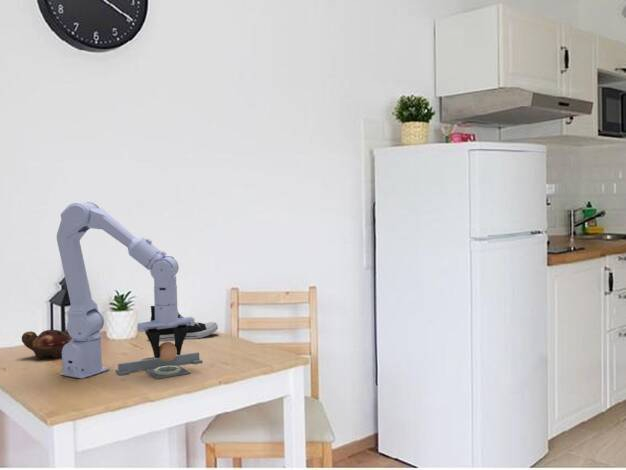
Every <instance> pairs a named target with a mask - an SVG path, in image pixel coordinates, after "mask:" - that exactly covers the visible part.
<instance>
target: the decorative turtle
mask: <svg viewBox="0 0 626 470" xmlns="http://www.w3.org/2000/svg"><path fill="white" fill-rule="evenodd" d="M71 340H72V337H71V336H70V335H69V334H67V332H64V331H61V330H58V329H47V330H44V331H41V332H40V333H39V334H37V333H36V332H34V331H32V330H31V331H26V332H24V333H23V334H22V336H21V342H22V344H23V345H24V346H25V347H26V348H28V349H29V350H31V351H32V352H33V353H34V355H35V357H36V358H37V360H39V361H40V360H43V359H44V358H45V357H46V356H47V355H50V356H51V357H52V358H53V359H59V357H60V356H61V355H62V349H63V347H64V345H65V344H67V343H69V342H70V341H71Z"/></svg>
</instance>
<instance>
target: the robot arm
mask: <svg viewBox="0 0 626 470" xmlns="http://www.w3.org/2000/svg"><path fill="white" fill-rule="evenodd" d="M90 229H95V230H102V231H104V233H107V234H108V235H109V236H111V237H112V238H114V239H115V240H116V241H118V242H119V243H120V244H122V245H124V246H125V247H126V248H127V250H128V255H129V256H130V257H131V258H133V259H134V260H135V261H136V262H137V263H139V264H140V265H141V266H142V267H144V268H145V269H146V270H148V271H149V273H150V276H151V277H152V278H153V281H154V282H153V284H154V286H153V291H154V292H153V293H154V294H153V296H154V298H153V299H154V306H155V320H154V321H145V322H139V323H137V332H139V333H143V332H144V333H145V335H146V337H147V339H149V340H148V341H149V343H150V345H151V348H152V352H153V357H155V358H159V357H160V352H159V346H160V341H159V339H160V333H158V331H157V329H165V328H173V330H174V338H175V340H174V345H175V346H176V348H177V355H182V354H181V352H182V348H183V344H184V341H185V340H186V339H185V336H186V334H187V333H188V327H187V326H189V325H190V326H193V325H194V322H195V317H192V316H189V317H184V318H178V315H177V309H178V285H177V276H176V275H177V274H178V273H179V268H180V267H179V263H178V261H177V260H176V259H175V257H174V256H173V255H167V252H166V251H165V250H163V251H161V250H160V249H159V248H158V247H157V246H155V245H154V244H153V243H152V242H153V240H152V239H150V238H145V237H136V236H135V235H134V234H133V233H132V232H131V231H129V230H128V229H127V228H126V227H124V226H123V224H121V223H120V222H119V221H118V220H116V219H115V218H114V217H113V216H112V215H111V214H110V213H109V212H107V211H106V210H105V209H104V208H102V207H99V205H97V204H96V203H95V202H91V201H89V202H88V201H87V202H82V203H81V202H73V203H71V204H69V205H67V206H66V207H65V209H64V210H63V211H62V212H61V213H60V223H59V226H58V230H57V232H56V241H57V242H56V243H57V246H58V252H59V255H60V259H61V260H60V261H61V266H62V270H63V275H64V280H65V284H66V289H67V293H68V298H69V302H70V305H69V308H68V310H67V317H68V320H67V324H66V331H67V333H68V335H69V336H70V338H71V339H72V340H71V341H70V342H69V343H67V344H65V345H64V347H63V349H62V352H61V359H62V360H61V365H62V367H61V368H62V372H60V375H61V376H66V377H69V378H70V377H71V378H77V379H85V378H88V377H91V376H94V375H97V374H99V373H103V372H106V371H109V370H110V367H108V366H107V367H106V366H103V364H102V362H103V361H102V359H103V357H102V355H103V354H102V335H101V330H102V329H103V327H104V324H105V320H104V316H103V314H102V313H101V312H100V310H99V308H98V304H97V303H96V301H94V299H93V297H92V293H91V289H90V288H91V287H90V284H89V279H88V275H87V271H86V266H85V260H84V256H83V251H82V245H81V242H80V240H81V239H82V238H83V237H84V235H85V234H86V233H87V232H88V231H89V230H90Z"/></svg>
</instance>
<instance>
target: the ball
mask: <svg viewBox="0 0 626 470" xmlns="http://www.w3.org/2000/svg"><path fill="white" fill-rule="evenodd" d="M159 352H160V357H159V358H160V359H161V360H162V361H165V362H168V361H171V360H173V359H174V358H175V357H176V355H177V348H176V346H175V343H172V342H170V341H164V342H162V343H161V344H159Z"/></svg>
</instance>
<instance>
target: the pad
mask: <svg viewBox="0 0 626 470" xmlns="http://www.w3.org/2000/svg"><path fill="white" fill-rule="evenodd" d="M144 371H145V372H146V373H147V374H148V373H149V376H151V377H152V376H153V377H152V378H154V379H155V380H162V379H167V378H174V377H179V376H186V375H191V371H188V370H187V369H185V368H184V367H182V366H180V365H174V366H162V367H158V368H155V369H148V370H144Z"/></svg>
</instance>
